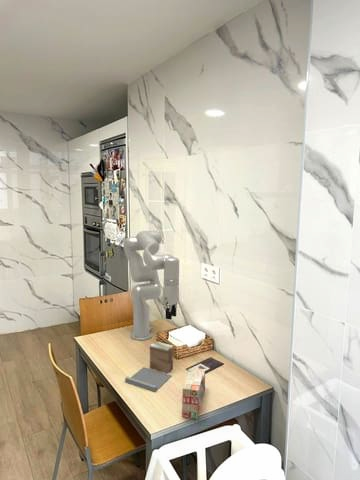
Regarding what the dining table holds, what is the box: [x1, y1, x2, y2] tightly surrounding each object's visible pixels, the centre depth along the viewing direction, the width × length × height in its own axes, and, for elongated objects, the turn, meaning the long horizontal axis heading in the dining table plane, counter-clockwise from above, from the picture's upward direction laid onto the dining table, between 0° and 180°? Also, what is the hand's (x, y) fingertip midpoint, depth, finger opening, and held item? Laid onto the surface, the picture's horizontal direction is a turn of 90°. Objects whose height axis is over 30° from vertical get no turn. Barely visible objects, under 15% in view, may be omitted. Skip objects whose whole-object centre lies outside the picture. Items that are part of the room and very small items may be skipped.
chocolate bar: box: [185, 357, 225, 375], centre depth 171 cm, size 9×1×18 cm
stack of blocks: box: [181, 368, 206, 420], centre depth 141 cm, size 21×6×12 cm, turn 169°
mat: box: [124, 366, 173, 393], centre depth 159 cm, size 15×16×2 cm
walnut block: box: [149, 340, 174, 374], centre depth 167 cm, size 5×10×12 cm, turn 62°
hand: (170, 317), depth 173 cm, fingers open, 4 cm apart
